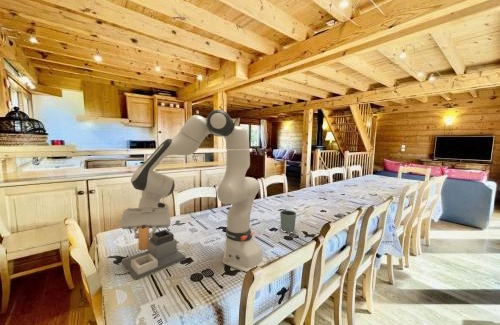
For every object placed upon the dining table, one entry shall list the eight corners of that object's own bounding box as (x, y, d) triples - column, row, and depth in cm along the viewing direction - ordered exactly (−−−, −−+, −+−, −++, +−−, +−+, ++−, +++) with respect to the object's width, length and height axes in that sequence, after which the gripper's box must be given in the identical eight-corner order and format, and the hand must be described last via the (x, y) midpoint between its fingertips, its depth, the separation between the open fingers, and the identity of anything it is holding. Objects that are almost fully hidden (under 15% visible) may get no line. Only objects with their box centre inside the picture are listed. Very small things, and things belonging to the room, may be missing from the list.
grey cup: (295, 234, 134) (296, 216, 133) (278, 232, 136) (279, 214, 135) (295, 228, 144) (296, 210, 143) (279, 226, 146) (280, 209, 144)
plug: (150, 248, 92) (150, 225, 91) (140, 251, 89) (140, 228, 88) (146, 244, 95) (146, 222, 94) (137, 247, 92) (136, 225, 91)
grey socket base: (185, 259, 102) (185, 238, 101) (136, 280, 86) (135, 255, 85) (168, 246, 114) (168, 227, 113) (122, 262, 97) (121, 240, 96)
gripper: (122, 205, 95) (113, 236, 86) (171, 204, 99) (167, 233, 91) (126, 211, 99) (118, 241, 91) (172, 210, 104) (169, 239, 95)
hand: (143, 237), depth 91 cm, fingers closed on plug, 4 cm apart
